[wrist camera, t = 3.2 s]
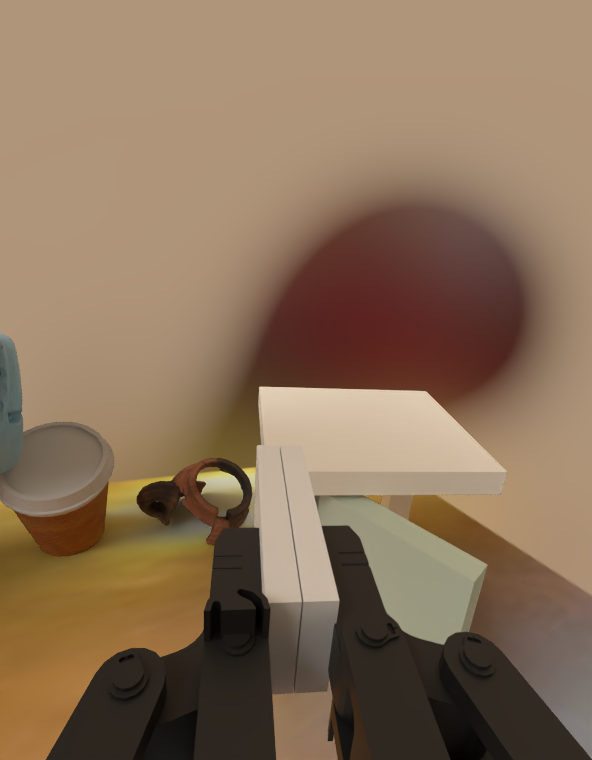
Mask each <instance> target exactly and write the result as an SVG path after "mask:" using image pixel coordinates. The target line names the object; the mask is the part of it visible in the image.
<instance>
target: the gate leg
mask: <svg viewBox="0 0 592 760" xmlns="http://www.w3.org/2000/svg"><path fill="white" fill-rule="evenodd" d="M314 498H315V502H316V506H317V510H318V514H319V518H320V522H321V526H341V525H349V526H350V528H351V529H352V530H353V531H354V532H355V533H356V534H357V535H358V536H359V537H360V539H361V542H362V545H363V548H364V551H365V554H366V556H367V559H368V562H369V566H370V568H371V571H372V574H373V576H374V579H375V582H376V585H377V588H378V591H379V593H380V596H381V599H382V602H383V605H384V608H385V610H386V612H387V614H388V615H389V616H391V617H392V618H393V619H394V620H395V621H396V622H397V623H398V624H399V626H400V628H401V629H402V631H404V632H406V633H408V634H409V635H411V636H414V637H417V638H420V639H423V640H427V641H431V642H435V643H438V644H442V645H444V644H445V642H446V640H447V637H449V636H451V635H452V634H454V633H457V632H469V630H470V627H471V623H472V620H473V616H474V612H475V609H476V605H477V602H478V598H479V595H480V591H481V588H482V584H483V581H484V577H485V573H486V570H487V566H488V565H487V564H486V563H484V562H482V561H480V560H478V559H477V558H475V557H473V556H471V555H469V554H468V553H466V552H464V551H462V550H460V549H459V548H457V547H455V546H453V545H451V544H450V543H448V542H446V541H444V540H442V539H441V538H439V537H437V536H435V535H433V534H432V533H430V532H428V531H426V530H425V529H423V528H421V527H419V526H417V525H416V524H414V523H412V522H410V521H408V520H407V519H405V518H403V517H401V516H399V515H398V514H396V513H394V512H392V511H390V510H389V509H387V508H385V507H383V506H381V505H380V504H378V503H376V502H374V501H372V500H371V499H369V498H367V497H365V496H363V495H315V496H314Z"/></svg>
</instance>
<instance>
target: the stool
mask: <svg viewBox="0 0 592 760" xmlns="http://www.w3.org/2000/svg"><path fill="white" fill-rule="evenodd" d="M259 416H260V430H261V444H262V445H275V446H279V448H280V446H302V448H303V452H304V456H305V460H306V465H307V469H308V473H309V477H310V481H311V485H312V489H313V493H314V495H382V501H381V506H383V507H385V508H387V509H389V510H390V511H392V512H394V513H396V514H398V515H399V516H401V517H403V518H405V519H407V520H408V519H409V514H410V509H411V504H412V499H413V495H501V493H502V489H503V485H504V482H505V478H506V475H507V471H506V470H505V469H504V468H503V467H502V466H501V465H499V463H498V462H497V461H496V460H495V459H494V458H493V457H492V456H490V455H489V453H488V452H486V451H485V450H484V449H483V448H482V447H481V446H480V445H479V444H478V443H477V442H476V441H475V440H474V439H473V438H472V437H471V436H470V435H469V434H468V433H467V432H466V431H465V430H464V429H463V428H462V427H461V426H460V425H459V424H458V423H457V422H456V421H455V420H454V419H453V418H452V417H451V416H450V415H449V414H448V413H447V412H446V411H445V410H444V409H443V408H442V407H441V406H440V405H439V404H438V403H437V402H436V401H435V400H434V399H433V398H432V397H431V396H430V395H429V394H428V393H427V392H426V391H396V390H360V389H323V388H286V387H282V388H281V387H259Z"/></svg>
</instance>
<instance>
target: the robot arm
mask: <svg viewBox="0 0 592 760" xmlns="http://www.w3.org/2000/svg"><path fill="white" fill-rule="evenodd" d="M21 412H22V389H21V379H20V370H19V363H18V358H17V352H16V349H15V345H14V343H13V341H12V339H11V338H9V337H8V336H6V335H3V334H0V474H2V473H5V472H7V471H8V470H10V469H11V468H13V467H14V466H15V465H16V463H17V462H18V460H19V458H20V455H21V451H22V442H23V419H22V415H21ZM329 679H330V684H331V690H332V695H333V699H332V706H331V713H330V720H329V727H328V741H333V736H334V738H335V744H336V750H337V756H338V760H592V759H591V758H590V756H589V755H588V754H587V753H586V752H585V751H584V749H583V748H582V747H581V746H580V745H579V743H578V742H577V741H576V740H575V739H574V737H573V736H572V735H571V734H570V733H569V731H568V730H567V729H566V728H565V727H564V725H563V724H562V723H561V722H560V721H559V719H558V718H557V717H556V716H555V715H554V713H553V712H552V711H551V710H550V709H549V707H548V706H547V705H546V704H545V703H544V701H543V700H542V699H541V698H540V697H539V695H538V694H537V693H536V692H535V691H534V689H533V688H532V687H531V686H530V685H529V684H528V682H527V681H526V680H525V679H524V678H523V676H522V675H521V674H520V673H519V672H518V670H517V669H516V668H515V667H514V666H513V664H512V663H511V662H510V661H509V660H508V658H507V657H506V656H505V655H504V654H503V652H502V651H501V650H500V649H499V648H497V647H496V646H495V645H494V644H493V643H492V642H491V641H489V640H487V639H485V638H484V637H482V636H480V635H478V634H474V633H470V632H457V633H454V634H452V635H451V636H449V637H447V640H446V642H445V644H444V645H442V644H438V643H435V642H431V641H427V640H423V639H420V638H417V637H414V636H411V635H409V634H408V633H406V632H404V631H402V629H401V628H400V626H399V624H398V623H397V622H396V621H395V620H394V619H393V618H392V617H391V616H389V615H388V614H387V612H386V610H385V608H384V605H383V602H382V599H381V596H380V593H379V591H378V588H377V585H376V582H375V579H374V576H373V574H372V571H371V568H370V566H369V562H368V559H367V556H366V554H365V551H364V548H363V545H362V542H361V539H360V537H359V536H358V535H357V534H356V533H355V532H354V531H353V530H352V529H351V528H350V526H349V525H341V526H321V522H320V518H319V514H318V510H317V506H316V502H315V498H314V493H313V489H312V485H311V481H310V477H309V473H308V469H307V465H306V460H305V456H304V452H303V448H302V446H280V448H279V446H275V445H257V458H256V479H255V501H254V528H223V530H222V531H221V533H220V534H219V536H218V537H217V539H216V540H215V546H214V559H213V568H212V579H211V590H210V598H209V599H208V601H207V604H206V607H205V609H204V630H203V632H202V634H201V635H200V636H199V637H198V638H197V639H196V641H194V642H193V643H192V644H190V645H189V646H188V647H186V648H184V649H182V650H179V651H177V652H175V653H172V654H169V655H166V656H163V657H159V656H158V654H157V653H156V652H153V651H151V650H148V649H146V648H131V649H128V650H125V651H122V652H119V653H117V654H115V655H114V656H113V657H111V658H110V659H108V660H107V661H105V662H104V664H103V665H102V666H101V667H100V669H99V670H98V671H97V672H96V674H95V675H94V677H93V679H92V680H91V682H90V684H89V686H88V687H87V689H86V691H85V693H84V694H83V696H82V698H81V700H80V701H79V703H78V705H77V706H76V708H75V710H74V712H73V713H72V715H71V717H70V719H69V720H68V722H67V724H66V726H65V727H64V729H63V731H62V733H61V734H60V736H59V738H58V740H57V741H56V743H55V745H54V746H53V748H52V750H51V752H50V753H49V755H48V757H47V759H46V760H276V751H275V735H274V719H273V702H272V694H289V693H293V687H294V693H306V692H322V691H327V688H328V681H329Z"/></svg>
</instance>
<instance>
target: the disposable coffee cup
mask: <svg viewBox="0 0 592 760" xmlns="http://www.w3.org/2000/svg"><path fill="white" fill-rule="evenodd" d="M113 468H114V456H113V452H112V449H111V447H110V445H109V444H108V443H107V442H106V440H105V439H103V438H102V437H101V435H100V434H99V433H98V432H96V431H95V430H94V429H92V428H90V427H88V426H86V425H83V424H79V423H74V422H53V423H47V424H44V425H40V426H36V427H34V428H32V429H30V430H27V431H25V432H23V442H22V451H21V455H20V458H19V460H18V462H17V463H16V465H15V466H14V467H13V468H11V469H10V470H8V471H7V472H5V473H2V474H0V500H1V501H2V502H3V503H4V504H5V505H6V506H7V507H9V508H11V509H13V510H14V512H15V513H16V514H17V516H18V517H19V518H20V520H21V521H22V523H23V524H24V526H25V527H26V528H27V530H28V531H29V533H30V534H31V535H32V537H33V539H35V541H36V542H37V544H38V545H39V546H40V548H41V550H42V551H44V552H45V553H47V554H49V555H53V556H70V555H74V554H77V553H80V552H83V551H85V550H87V549H89V548H90V547H92V546H93V545H94V544H96V543H97V542H98V541H99V540H100V538H101V536H102V535H103V532H104V527H105V515H106V504H107V493H108V481H109V479H110V477H111V475H112V471H113Z"/></svg>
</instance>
